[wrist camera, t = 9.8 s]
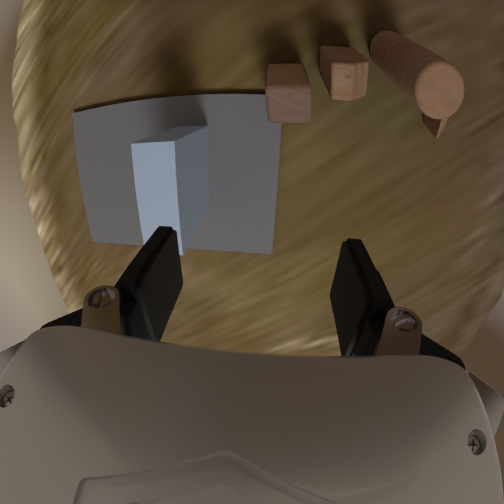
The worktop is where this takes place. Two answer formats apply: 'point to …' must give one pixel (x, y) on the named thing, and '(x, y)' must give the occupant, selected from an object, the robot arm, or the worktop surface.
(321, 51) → the wooden block set
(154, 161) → the slab
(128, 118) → the mat
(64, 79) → the worktop surface
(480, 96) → the worktop surface
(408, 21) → the worktop surface
